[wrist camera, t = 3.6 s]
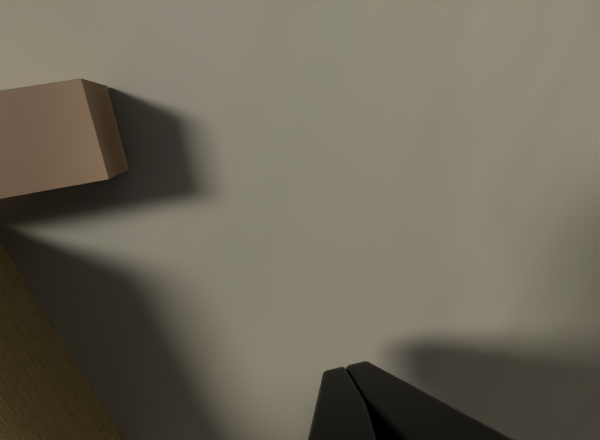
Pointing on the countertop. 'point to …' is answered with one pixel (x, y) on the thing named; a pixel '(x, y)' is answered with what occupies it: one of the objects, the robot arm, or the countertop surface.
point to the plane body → (57, 137)
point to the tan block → (41, 374)
